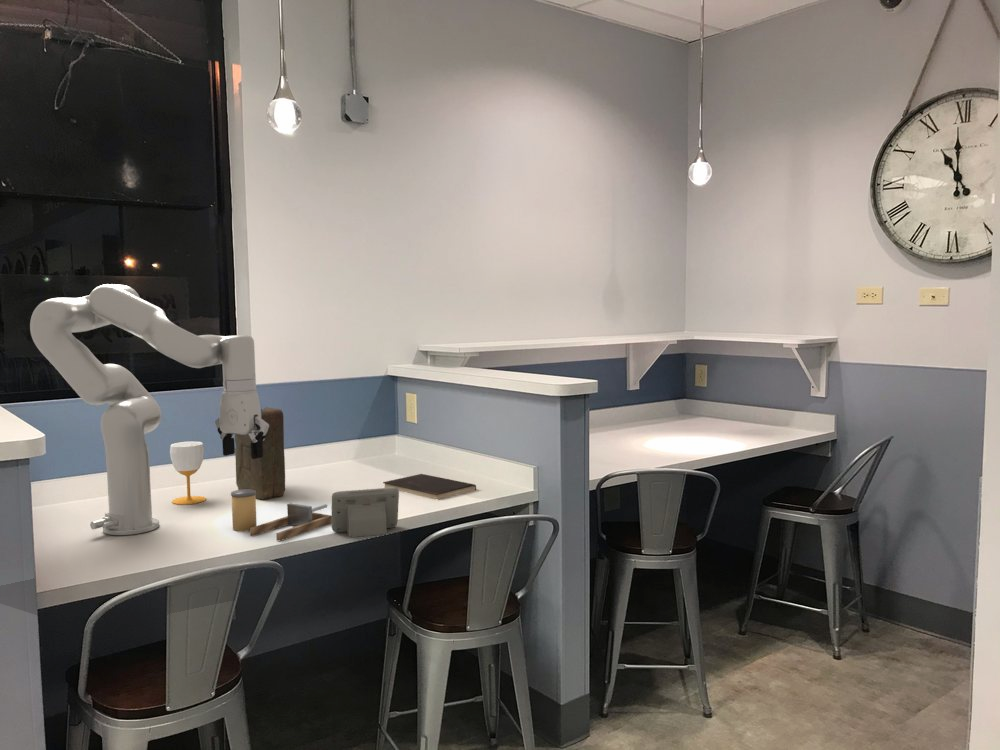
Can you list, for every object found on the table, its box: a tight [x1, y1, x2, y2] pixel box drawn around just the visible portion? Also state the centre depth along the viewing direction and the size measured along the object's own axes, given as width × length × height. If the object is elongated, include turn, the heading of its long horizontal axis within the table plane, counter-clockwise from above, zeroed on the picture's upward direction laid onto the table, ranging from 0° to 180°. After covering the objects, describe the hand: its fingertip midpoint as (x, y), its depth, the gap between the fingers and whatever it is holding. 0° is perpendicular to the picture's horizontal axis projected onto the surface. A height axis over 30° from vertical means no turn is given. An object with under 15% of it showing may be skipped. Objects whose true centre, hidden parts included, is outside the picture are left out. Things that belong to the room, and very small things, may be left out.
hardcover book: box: [382, 473, 477, 500], centre depth 240 cm, size 16×23×2 cm
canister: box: [234, 406, 286, 500], centre depth 235 cm, size 19×8×25 cm, turn 41°
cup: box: [169, 441, 207, 506], centre depth 227 cm, size 9×9×16 cm
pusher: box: [286, 502, 328, 526], centre depth 205 cm, size 10×7×5 cm
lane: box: [249, 512, 332, 541], centre depth 199 cm, size 18×10×2 cm, turn 150°
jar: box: [230, 489, 258, 532], centre depth 200 cm, size 6×6×9 cm
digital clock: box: [331, 487, 400, 538], centre depth 196 cm, size 16×9×11 cm, turn 95°
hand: (243, 456), depth 199 cm, fingers open, 9 cm apart
